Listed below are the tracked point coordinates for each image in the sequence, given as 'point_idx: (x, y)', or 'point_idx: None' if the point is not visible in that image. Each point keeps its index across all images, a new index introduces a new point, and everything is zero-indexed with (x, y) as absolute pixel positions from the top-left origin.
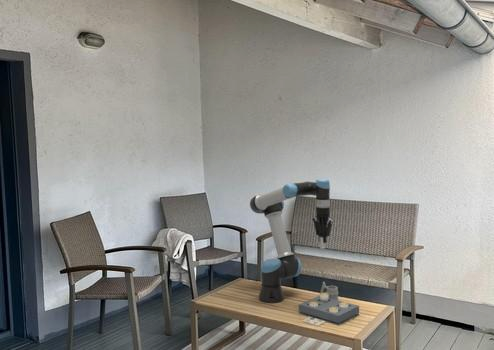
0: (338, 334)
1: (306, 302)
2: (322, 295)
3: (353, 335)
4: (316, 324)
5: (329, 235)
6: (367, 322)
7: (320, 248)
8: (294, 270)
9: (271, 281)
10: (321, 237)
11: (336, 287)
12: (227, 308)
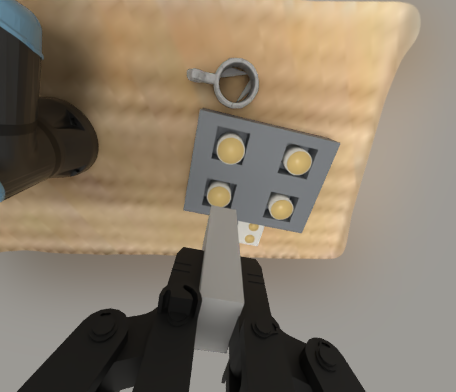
0: (305, 258)
1: (194, 188)
2: (230, 164)
3: (333, 250)
4: (253, 243)
5: (340, 354)
6: (354, 177)
7: (203, 242)
8: (28, 73)
9: (34, 184)
10: (206, 348)
11: (251, 70)
12: (35, 246)
